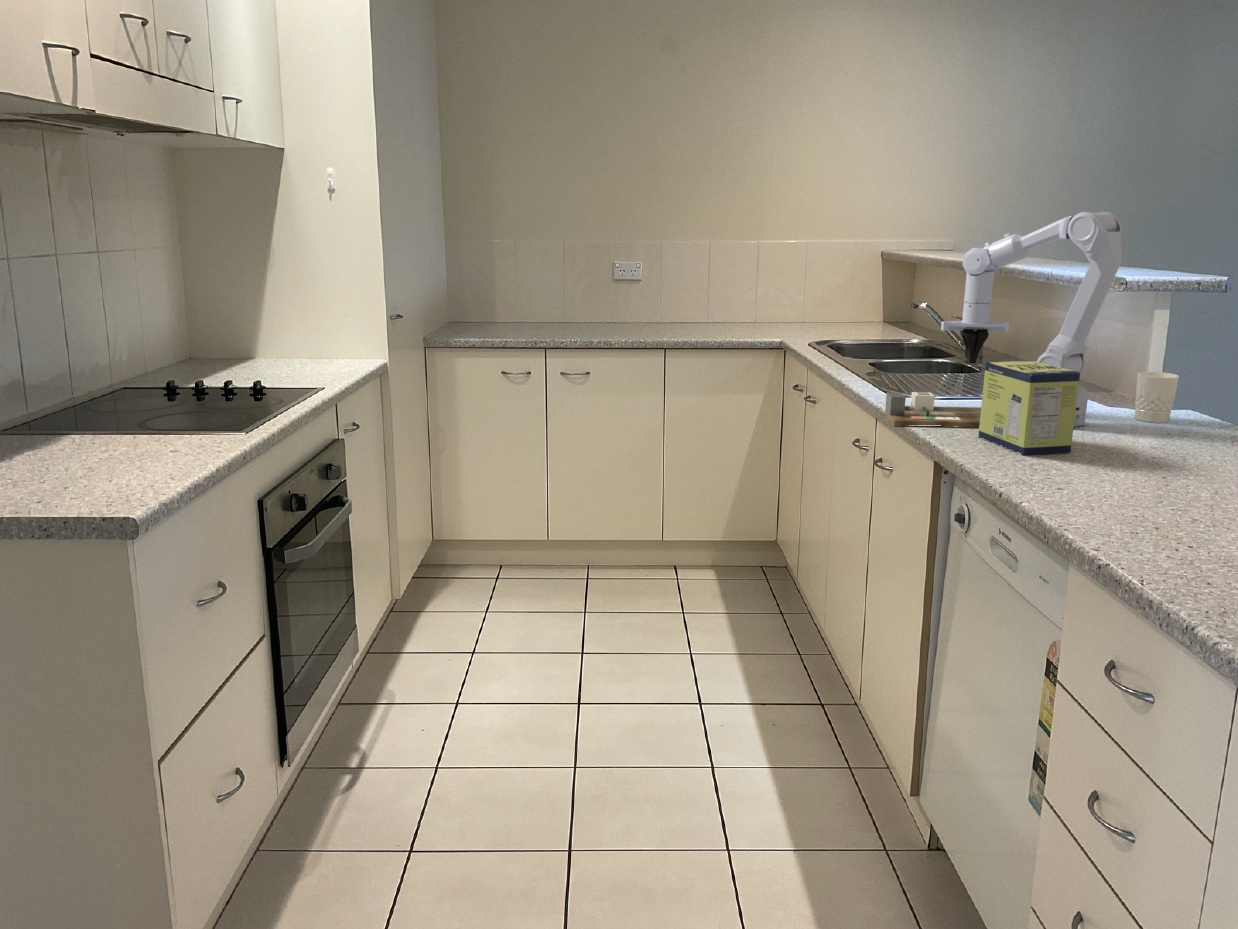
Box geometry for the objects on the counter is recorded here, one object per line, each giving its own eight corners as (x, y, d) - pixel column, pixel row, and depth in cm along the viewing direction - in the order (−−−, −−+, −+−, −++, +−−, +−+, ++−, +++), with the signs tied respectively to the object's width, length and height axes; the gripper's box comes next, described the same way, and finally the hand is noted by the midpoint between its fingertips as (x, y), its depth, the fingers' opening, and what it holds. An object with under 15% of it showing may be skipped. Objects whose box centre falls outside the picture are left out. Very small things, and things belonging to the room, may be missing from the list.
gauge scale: (957, 418, 208) (958, 416, 208) (961, 420, 205) (961, 419, 205) (910, 417, 208) (910, 415, 208) (912, 419, 206) (912, 418, 206)
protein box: (1022, 434, 198) (1031, 359, 194) (1072, 453, 184) (1082, 372, 180) (976, 437, 196) (984, 360, 192) (1022, 456, 181) (1032, 373, 177)
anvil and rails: (982, 411, 214) (983, 393, 213) (989, 417, 208) (991, 399, 207) (885, 409, 216) (886, 392, 215) (890, 415, 210) (891, 397, 209)
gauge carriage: (928, 410, 214) (930, 391, 213) (937, 417, 206) (938, 398, 205) (910, 409, 214) (911, 391, 213) (917, 417, 207) (919, 398, 206)
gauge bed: (986, 417, 214) (986, 411, 214) (1000, 428, 204) (1001, 422, 203) (884, 415, 216) (885, 409, 216) (894, 426, 205) (894, 420, 205)
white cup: (1133, 422, 210) (1140, 376, 208) (1129, 415, 217) (1135, 370, 215) (1175, 425, 208) (1182, 378, 205) (1168, 417, 215) (1175, 372, 212)
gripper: (1005, 301, 222) (998, 360, 225) (940, 300, 223) (934, 359, 226) (1014, 304, 215) (1008, 365, 219) (947, 303, 216) (942, 364, 220)
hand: (971, 362), depth 222 cm, fingers closed
